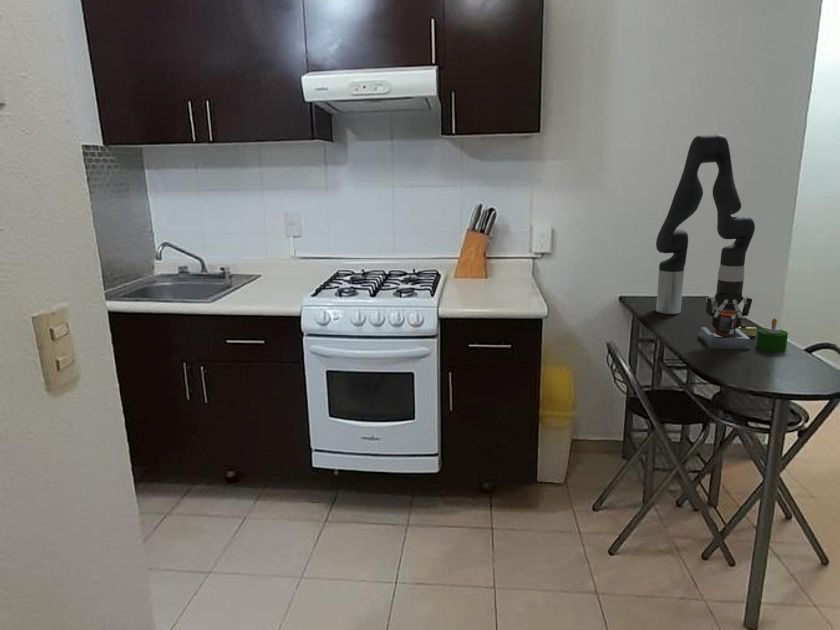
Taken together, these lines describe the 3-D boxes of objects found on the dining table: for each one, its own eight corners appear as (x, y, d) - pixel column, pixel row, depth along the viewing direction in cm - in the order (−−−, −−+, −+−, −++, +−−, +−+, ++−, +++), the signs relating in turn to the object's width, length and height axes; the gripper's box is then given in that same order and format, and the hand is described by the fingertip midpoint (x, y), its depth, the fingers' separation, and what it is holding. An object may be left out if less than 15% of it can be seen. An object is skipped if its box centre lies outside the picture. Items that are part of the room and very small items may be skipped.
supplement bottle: (737, 337, 193) (741, 304, 190) (717, 337, 194) (721, 304, 191) (731, 332, 198) (735, 300, 195) (712, 332, 199) (716, 300, 196)
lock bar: (729, 335, 205) (730, 324, 204) (754, 335, 204) (755, 324, 203) (730, 336, 204) (731, 325, 203) (755, 336, 202) (757, 325, 201)
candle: (759, 351, 188) (763, 321, 185) (753, 343, 196) (757, 314, 193) (788, 352, 185) (792, 322, 183) (782, 345, 193) (785, 315, 190)
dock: (698, 335, 205) (699, 326, 204) (735, 336, 203) (736, 326, 202) (710, 348, 192) (711, 338, 191) (749, 349, 190) (751, 338, 189)
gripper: (750, 276, 193) (745, 325, 198) (703, 276, 196) (699, 324, 200) (758, 280, 186) (752, 331, 190) (710, 280, 189) (705, 330, 193)
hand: (725, 327), depth 195 cm, fingers closed on supplement bottle, 6 cm apart
